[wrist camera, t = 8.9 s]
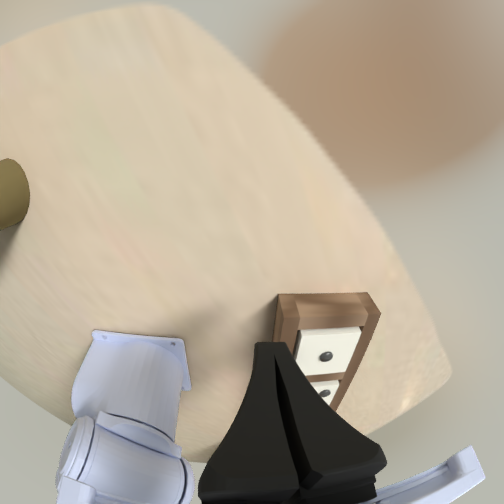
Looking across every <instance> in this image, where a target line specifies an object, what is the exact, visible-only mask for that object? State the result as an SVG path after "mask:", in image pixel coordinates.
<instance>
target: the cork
mask: <svg viewBox="0 0 504 504" xmlns="http://www.w3.org/2000/svg"><path fill="white" fill-rule="evenodd" d="M29 199H30V192H29V185H28V181H27V178H26V175H25V173H24V171H23V169H22V168H21V166H20V165H19V164H18V163H17V162H16V161H14V160H12V159H4V160H1V161H0V230H3V229H5V228H7V227H9V226H12V225H14V224H16V223H18V222H20V221H21V220H23V218H24V217H25V215H26V214H27V211H28V207H29Z"/></svg>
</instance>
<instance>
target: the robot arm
mask: <svg viewBox="0 0 504 504" xmlns="http://www.w3.org/2000/svg"><path fill="white" fill-rule="evenodd" d="M92 336H93V339H94V340H93V342H92V344H91V346H90V348H89V350H88V352H87V354H86V356H85V359H84V361H83V363H82V365H81V367H80V369H79V371H78V374H77V376H76V378H75V381H74V383H73V387H72V396H71V402H72V408H73V412H74V414H75V417H76V418H77V419H76V420H75V422H74V423H73V425H72V427H71V429H70V432H69V433H68V435H67V438H66V440H65V443H64V446H63V449H62V453H61V457H60V462H59V467H58V470H57V474H56V482H55V483H56V488H57V492H58V496H57V501H56V504H190V502H191V499H192V497H193V493H194V487H195V480H194V474H193V471H192V468H191V465H190V464H189V462H188V461H187V460H186V459H185V458H183V457H181V450H182V447H181V446H179V445H177V444H175V443H174V442H175V434H176V426H177V418H178V410H179V403H180V396H181V390H184V391H189V390H191V381H190V375H189V369H188V364H187V357H186V351H185V345H184V341H183V340H182V339H179V338H167V337H154V336H143V335H133V334H124V333H115V332H107V331H100V330H93V332H92ZM172 342H173V343H172ZM386 464H387V460H386V457H385V455H384V453H383V451H382V449H381V447H380V445H379V444H377V443H375V442H374V441H372V440H370V439H369V438H367V437H366V436H364V435H363V434H361V433H360V432H359V431H357V430H356V429H355V428H353V427H352V426H351V425H350V424H348V423H347V422H346V421H345V420H344V419H343V418H341V417H340V416H339V415H338V414H337V413H336V412H335V411H334V410H333V409H332V408H331V407H330V406H329V405H328V404H327V403H326V402H325V401H324V400H323V398H322V397H321V396H320V395H319V394H318V393H317V391H316V390H315V389H314V387H313V386H312V385H311V383H310V382H309V381H308V379H307V378H306V376H305V375H304V373H303V372H302V370H301V369H300V367H299V366H298V364H297V362H296V361H295V359H294V357H293V356H292V354H291V352H290V350H289V348H288V346H287V344H286V343H285V342H257V343H256V344H255V349H254V360H253V370H252V375H251V379H250V382H249V385H248V388H247V391H246V394H245V397H244V399H243V402H242V404H241V406H240V409H239V411H238V413H237V415H236V417H235V419H234V421H233V423H232V425H231V427H230V429H229V430H228V432H227V434H226V435H225V437H224V439H223V440H222V442H221V444H220V445H219V447H218V448H217V450H216V451H215V452H214V454H213V455H212V457H211V458H210V459H209V461H208V462H207V465H206V467H205V469H204V471H203V473H202V475H201V477H200V480H199V484H198V497H199V498H200V499H201V501H202V504H374V503H375V504H449V503H450V502H452V501H454V500H455V499H457V498H458V497H459V496H461V495H463V494H464V493H465V492H467V491H468V490H470V489H471V488H473V487H474V486H475V485H477V484H478V483H480V482H481V481H483V480H484V479H485V475H484V472H483V470H482V468H481V465H480V463H479V461H478V458H477V456H476V454H475V452H474V449H473V447H472V445H469V446H468V447H466V448H464V449H462V450H461V451H459V452H457V453H456V454H454V455H453V456H451V457H450V458H449V459H447V461H445V462H443V463H441V464H439V465H437V466H435V467H433V468H431V469H428V470H426V471H424V472H422V473H420V474H417V475H415V476H412V477H410V478H408V479H405V480H403V481H400V482H398V483H395V484H392V485H389V486H386V487H383V488H380V489H377V490H375V486H374V483H375V482H376V478H375V474H377V473H378V472H379V471H380V470H382V469H383V468H384V467H385V466H386Z"/></svg>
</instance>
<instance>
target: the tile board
mask: <svg viewBox="0 0 504 504" xmlns="http://www.w3.org/2000/svg"><path fill="white" fill-rule="evenodd" d="M380 315H381V312H380V311H379V309H378V308H377V306H376V305H375V303H374V302H373V300H372V298H371V297H370V295H369V294H368V292H367V293H330V294H278V302H277V310H276V317H275V324H274V332H273V339H272V342H285V343H286V344H287V346H288V348H289V350H290V352H291V354H293V350H294V345H295V341H296V336H297V331H298V330H305V329H327V328H344V327H358V326H359V328H360V330H361V335H360V338H359V340H358V343H357V345H356V348H355V350H354V352H353V355H352V357H351V360H350V362H349V364H348V367H347V369H346V371H345V372H338V373H329V374H318V375H306V378H307V379H308V381H309V382H310V383H312V382H323V381H332V380H338V382H339V386H338V389H337V391H336V393H335V395H334V397H333V399H332V401H331V403H330V405H329V406H330V407H331V408H332V409H333V410H334V411H335V412H336V410H337V408H338V406H339V404H340V402H341V401H342V399H343V397H344V395H345V393H346V391H347V389H348V387H349V385H350V383H351V381H352V379H353V377H354V375H355V373H356V371H357V369H358V367H359V365H360V363H361V360H362V358H363V356H364V354H365V352H366V349H367V347H368V345H369V342H370V340H371V338H372V335H373V333H374V330H375V328H376V325H377V323H378V320H379V318H380Z"/></svg>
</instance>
